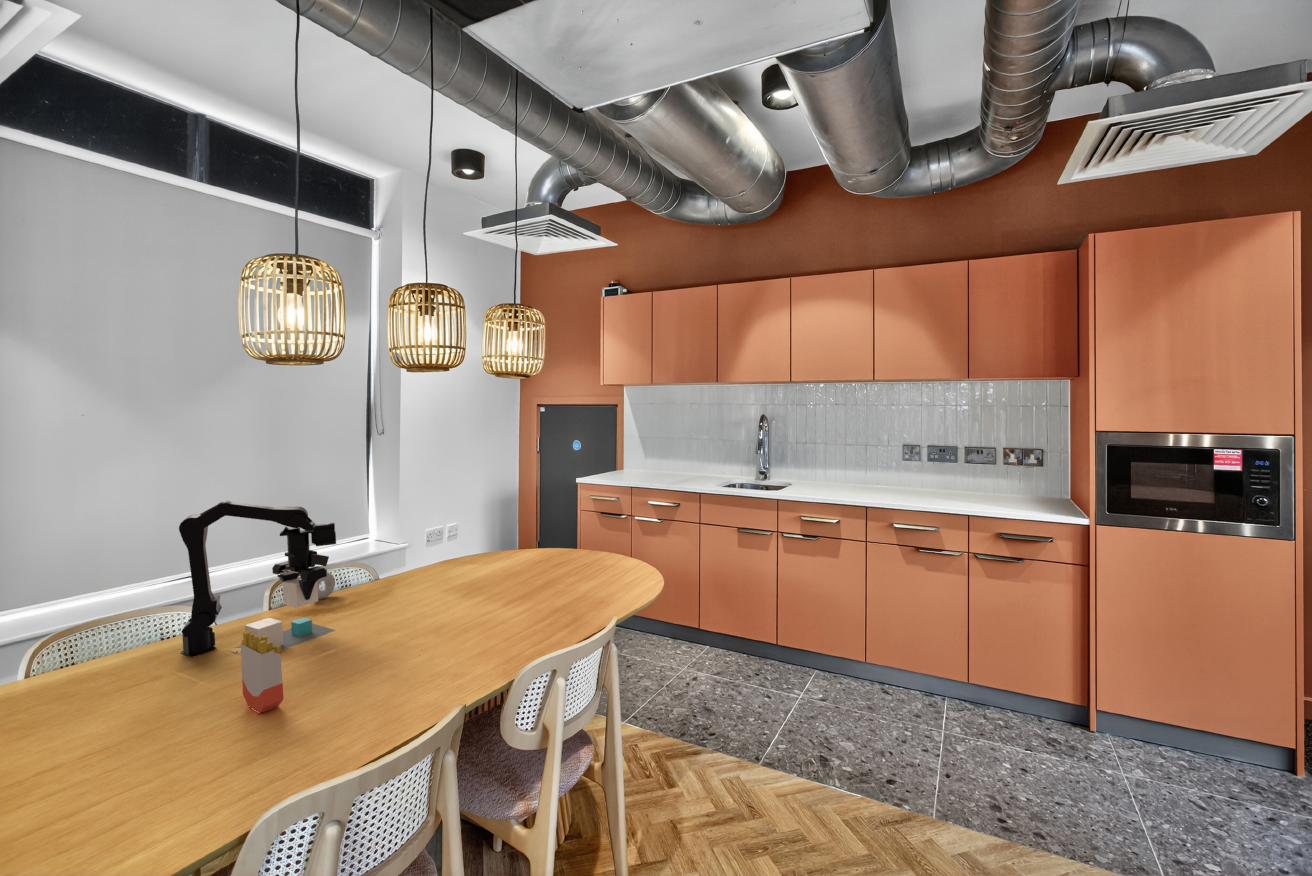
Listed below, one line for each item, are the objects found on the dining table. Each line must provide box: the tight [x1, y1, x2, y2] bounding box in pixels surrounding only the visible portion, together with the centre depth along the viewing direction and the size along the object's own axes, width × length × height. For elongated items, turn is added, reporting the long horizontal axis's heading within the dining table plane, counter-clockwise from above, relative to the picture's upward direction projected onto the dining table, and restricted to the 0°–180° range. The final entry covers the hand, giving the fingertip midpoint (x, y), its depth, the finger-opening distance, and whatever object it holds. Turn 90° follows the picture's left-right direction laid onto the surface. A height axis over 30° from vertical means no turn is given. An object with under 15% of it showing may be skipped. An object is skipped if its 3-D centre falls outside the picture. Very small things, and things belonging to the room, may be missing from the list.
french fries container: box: [240, 631, 284, 714], centre depth 139 cm, size 5×11×18 cm, turn 56°
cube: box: [290, 617, 313, 637], centre depth 182 cm, size 4×4×4 cm
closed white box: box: [282, 576, 319, 609], centre depth 182 cm, size 7×7×7 cm
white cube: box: [244, 617, 284, 647], centre depth 173 cm, size 7×7×7 cm
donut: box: [317, 571, 336, 600], centre depth 215 cm, size 10×4×10 cm, turn 157°
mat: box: [234, 623, 336, 655], centre depth 178 cm, size 24×14×1 cm, turn 153°
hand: (300, 597), depth 182 cm, fingers closed on closed white box, 7 cm apart
